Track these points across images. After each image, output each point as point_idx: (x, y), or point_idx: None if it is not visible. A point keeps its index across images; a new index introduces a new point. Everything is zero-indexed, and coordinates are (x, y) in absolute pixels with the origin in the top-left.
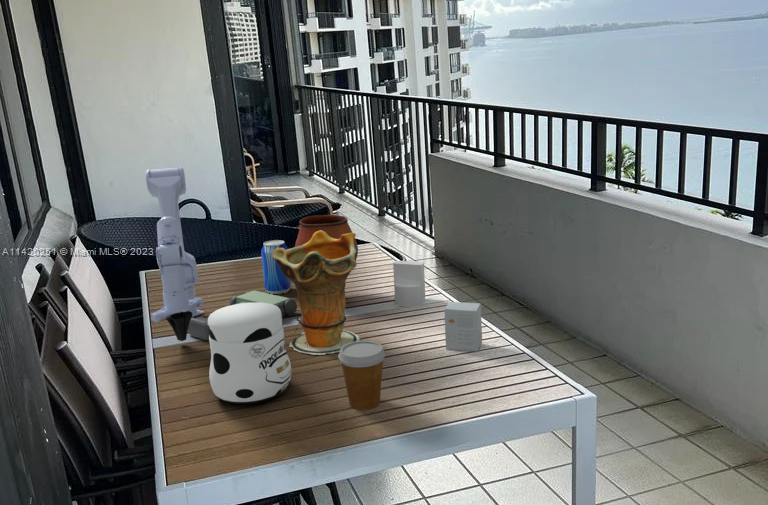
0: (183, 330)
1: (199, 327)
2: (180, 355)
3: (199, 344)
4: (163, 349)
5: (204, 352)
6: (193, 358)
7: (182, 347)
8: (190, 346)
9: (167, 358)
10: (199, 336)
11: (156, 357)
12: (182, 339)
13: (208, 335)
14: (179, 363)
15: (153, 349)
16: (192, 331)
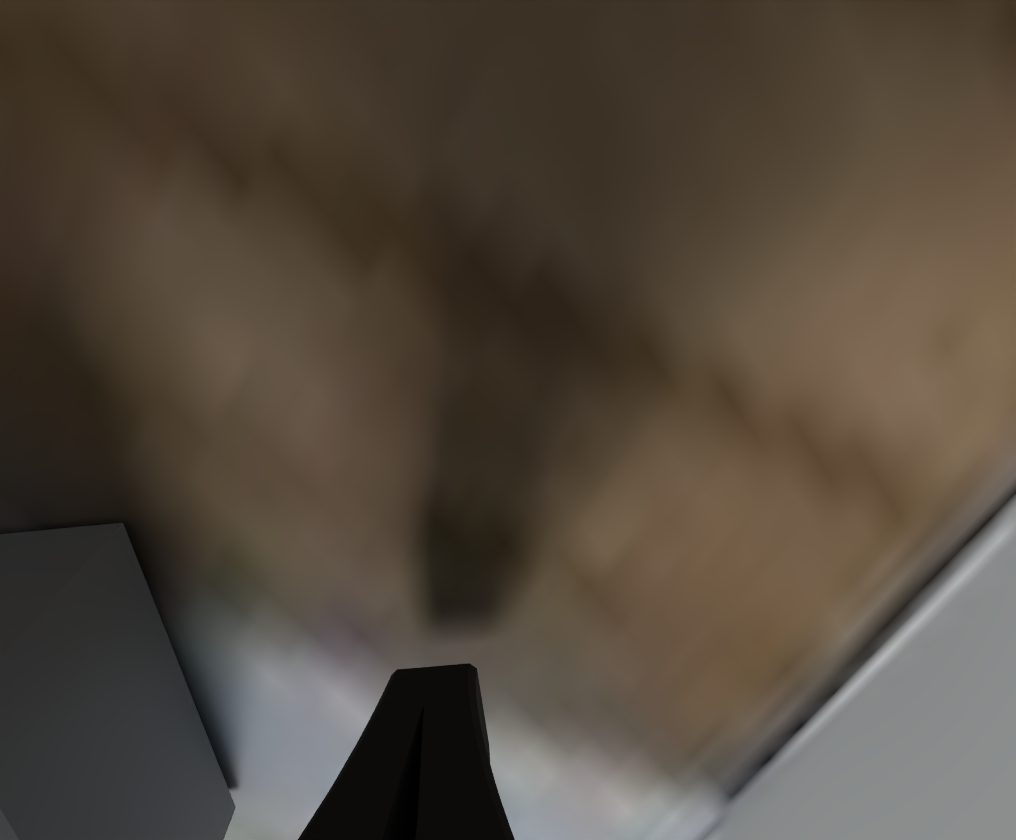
0: (423, 808)
1: (62, 787)
2: (705, 344)
3: (267, 490)
4: (692, 698)
5: (370, 106)
6: (668, 8)
7: (499, 579)
8: (402, 527)
9: (889, 402)
10: (159, 672)
11: (930, 553)
12: (466, 679)
13: (32, 568)
14: (968, 16)
15: (757, 774)
16: (187, 823)
